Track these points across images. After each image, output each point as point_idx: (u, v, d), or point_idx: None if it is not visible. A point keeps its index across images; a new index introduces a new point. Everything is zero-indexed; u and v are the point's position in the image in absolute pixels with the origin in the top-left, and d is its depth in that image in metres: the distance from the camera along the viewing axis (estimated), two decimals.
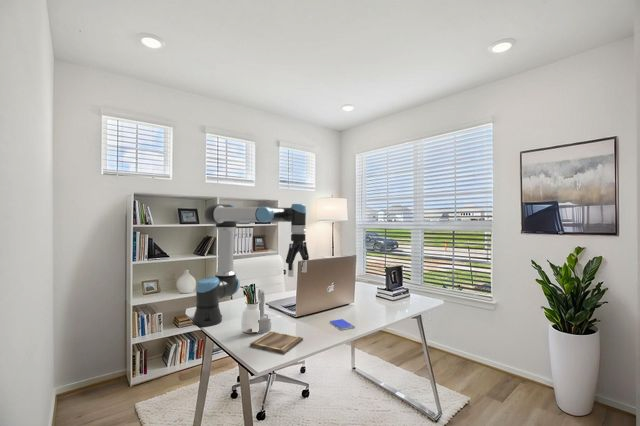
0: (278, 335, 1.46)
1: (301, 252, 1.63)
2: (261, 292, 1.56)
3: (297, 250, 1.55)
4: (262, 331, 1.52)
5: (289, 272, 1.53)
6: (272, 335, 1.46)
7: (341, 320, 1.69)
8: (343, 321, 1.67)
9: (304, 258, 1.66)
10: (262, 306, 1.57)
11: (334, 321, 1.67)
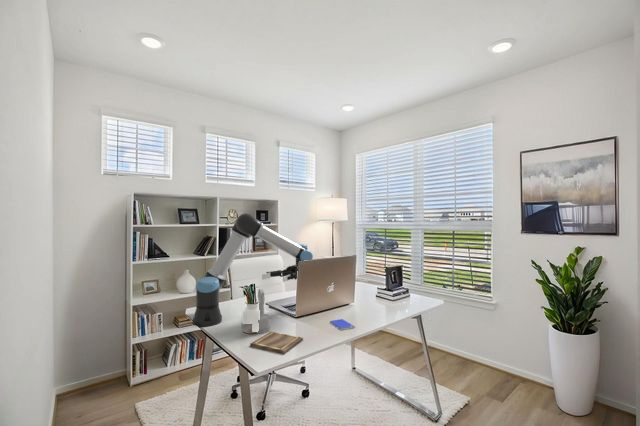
0: (278, 335, 1.46)
1: (278, 274, 1.78)
2: (261, 292, 1.56)
3: None
4: (262, 331, 1.52)
5: (286, 277, 1.66)
6: (272, 335, 1.46)
7: (341, 320, 1.69)
8: (343, 321, 1.67)
9: (270, 274, 1.77)
10: (262, 306, 1.57)
11: (334, 321, 1.67)
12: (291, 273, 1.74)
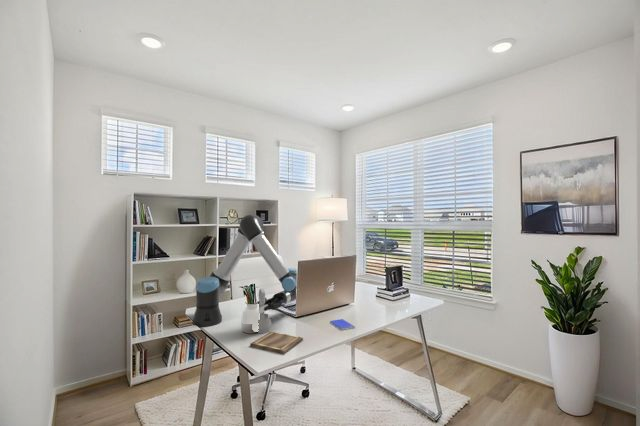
0: (278, 335, 1.46)
1: (267, 303, 1.66)
2: (262, 292, 1.55)
3: None
4: (262, 331, 1.52)
5: (263, 308, 1.55)
6: (272, 335, 1.46)
7: (341, 320, 1.69)
8: (343, 321, 1.67)
9: None
10: None
11: (334, 321, 1.67)
12: (272, 302, 1.62)
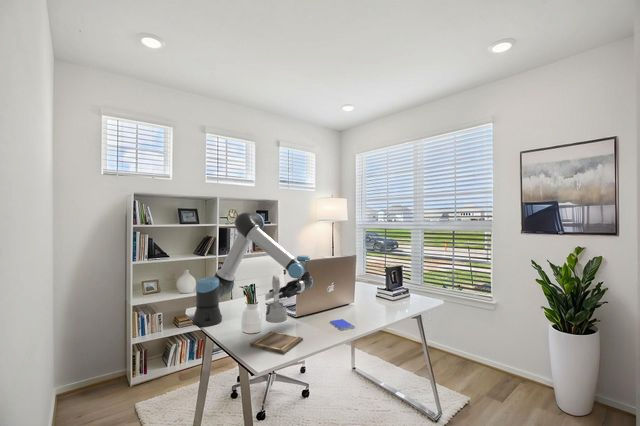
0: (278, 335, 1.46)
1: (281, 291, 1.54)
2: (276, 279, 1.44)
3: None
4: (278, 321, 1.41)
5: (277, 295, 1.43)
6: (272, 335, 1.46)
7: (341, 320, 1.69)
8: (343, 321, 1.67)
9: None
10: None
11: (334, 321, 1.67)
12: (287, 290, 1.51)
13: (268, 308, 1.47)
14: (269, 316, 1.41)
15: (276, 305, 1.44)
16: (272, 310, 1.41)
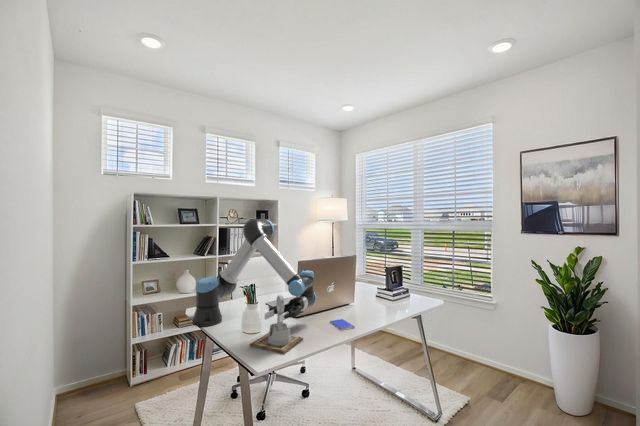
0: None
1: None
2: (280, 299, 1.38)
3: None
4: (281, 343, 1.35)
5: (283, 316, 1.37)
6: None
7: (341, 320, 1.69)
8: (343, 321, 1.67)
9: (273, 311, 1.45)
10: None
11: (334, 321, 1.67)
12: (291, 309, 1.45)
13: (271, 329, 1.41)
14: (272, 338, 1.35)
15: (279, 326, 1.38)
16: (275, 332, 1.35)
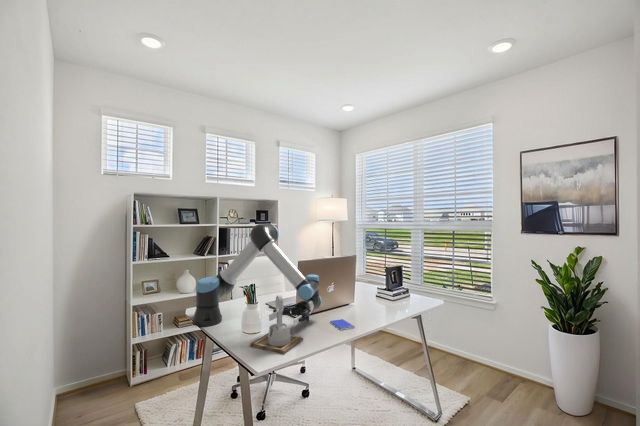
0: None
1: (287, 312, 1.55)
2: (279, 299, 1.38)
3: None
4: (281, 344, 1.35)
5: (297, 319, 1.42)
6: None
7: (341, 320, 1.69)
8: (343, 321, 1.67)
9: None
10: (280, 315, 1.39)
11: (334, 321, 1.67)
12: (302, 312, 1.50)
13: (271, 329, 1.41)
14: (272, 338, 1.35)
15: (279, 327, 1.38)
16: (275, 332, 1.34)
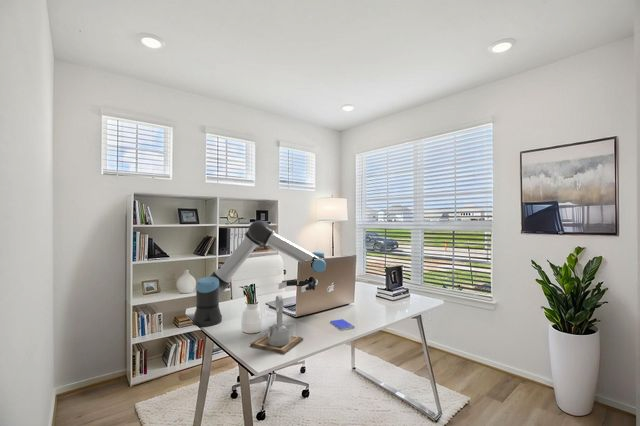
0: None
1: (295, 283, 1.69)
2: (279, 299, 1.38)
3: None
4: (281, 343, 1.35)
5: (304, 287, 1.57)
6: None
7: (341, 320, 1.69)
8: (343, 321, 1.67)
9: None
10: (280, 315, 1.39)
11: (334, 321, 1.67)
12: (309, 283, 1.65)
13: (271, 329, 1.41)
14: (272, 338, 1.35)
15: (279, 327, 1.38)
16: (275, 332, 1.35)
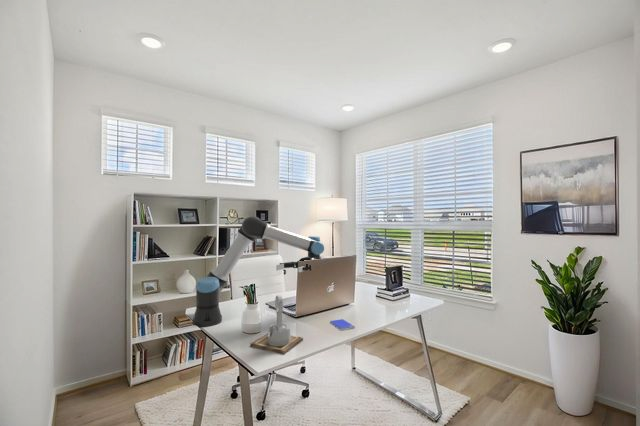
0: None
1: (292, 265, 1.75)
2: (279, 299, 1.38)
3: None
4: (281, 344, 1.35)
5: (301, 268, 1.63)
6: None
7: (341, 320, 1.69)
8: (343, 321, 1.67)
9: None
10: (280, 315, 1.39)
11: (334, 321, 1.67)
12: None
13: (271, 329, 1.41)
14: (272, 339, 1.35)
15: (279, 327, 1.38)
16: (275, 332, 1.34)
